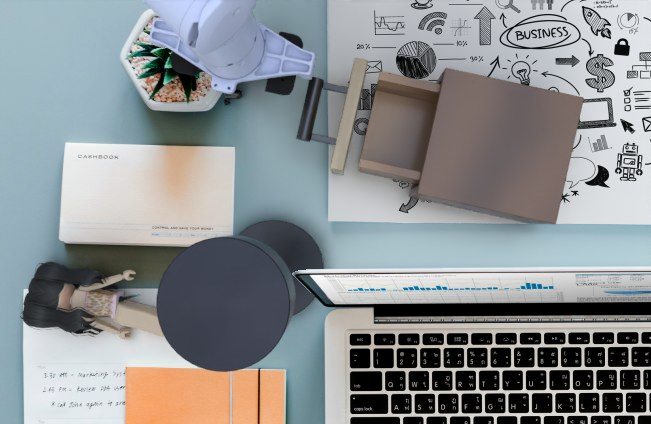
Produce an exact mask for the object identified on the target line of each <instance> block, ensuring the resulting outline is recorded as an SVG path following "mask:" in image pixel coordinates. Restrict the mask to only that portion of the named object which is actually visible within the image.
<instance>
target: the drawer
mask: <svg viewBox="0 0 651 424" xmlns="http://www.w3.org/2000/svg"><path fill="white" fill-rule="evenodd" d="M368 62H369V61H368V60H367V59H364V58H359V57H354V61H353V65H352V69H351V74H350V79H349V83H348V86H343V85H340V84H334V83H331V82H325V80H324V79H323V78H320V77H317V76H312V79H311V80H310V79H308V83H307V87H306V92H305V95H304V101H303V105H302V109H301V114H300V119H299V123H298V127H297V132H296V136H295V139H296V140H298V141H301V142H305V143H311V141H313V142H317V143H322V144H327V145H332V146H334V148H333V154H332V157H331V163H330V167H329V168H330V172H331V173H332V174H334V175H339V176H344V174H345V169H346V166H347V160H348V156H349V151H350V149H351V144H352V139H353V134H354V130H355V125H356V122H357V121H356V120H357V116H358V112H359V107H360V103H361V99H362V94H363V89H364V85H365V82H366V78H367V77H366V76H367V69H368ZM440 86H441V84H437V83H436V82H431V81H428V80H423V79H418V78H413V77H409V76H404V75H400V74H395V73H391V72H385V71H379V74H378V78H377V83H376V86H375V90H374V95H373V100H372V104H371V109H370V113H369V118H368V122H367V127H366V131H365V135H364V140H363V145H362V149H361V153H360V158H359V162H358V167H357V172H358V173H361V174H362V173H363V174H367V175H372V176H376V177H381V178H384V179H389V180H395V181H399V182H403V183H408V184H416V185H418V184H419V180H420V175H421V171H422V166H423V162H424V158H425V153H426V149H427V144H428V140H429V135H430V131H431V126H432V122H433V117H434V113H435V109H436V104H437V100H438V95H439V91H440ZM323 90H324V91H329V92H333V93H338V94H342V95H346V96H345V100H344V105H343V108H342V114H341V118H340V122H339V126H338V131H337V132H338V133H337V136H336V137H330V136H326V135H321V134H317V133H313V132H314V126H315V123H316V119H317V115H318V114H317V113H318V110H319V105H320V100H321V97H322V91H323Z"/></svg>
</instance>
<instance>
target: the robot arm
mask: <svg viewBox="0 0 651 424" xmlns="http://www.w3.org/2000/svg"><path fill="white" fill-rule="evenodd" d="M141 1H142V2H143V3H144V4H145V5H146V6H147V7H148V8H149V9H150V10H152V11H153V12H154V14H155V15H156V16H158V18H156V17H154V18H153V19H152V23H151V27H150V30H149V31H150V32H149V36H148V41H149V42H150V43H151V44H153V46H155V47H158V48H164V49H165V48H167V49H168V50H170V51H172V53H171V57H170V65H171V69H173V70H174V71H175V72H176V73H179V74H183V75H188V76H192V77H197V75H199V74H201V73H206V74H207V75H209V76H210V77H211V81H210V87H211V89H212V90H214V91H215V92H218V93H222V94H224V93H227V94H232V93H234V92H235V90H236V89H237V87H238V86H237V85H238V84H240V83H245V82H252V81H260V80H266V84H265V89H264V92H266V93H270V94H274V95H279V96H290V95H291V94H292V92H293V91H294V88H295V84H296V80H297V76H300V77H301V78H302V79H305V80H309V79H310V80H311V79H312V77H314V75H313V74H314V71H315V66H316V61H317V55H316V52H314V51H309V50H307V49H303V48H304V42H303V39H302V38H301V36H299V35H297V34H295V33H290V32H285V31H279V32H278V33H277V32H275V31H274V30H272V29H270V28H269V27H268V26H266V25H264V24H263V23H261V22H260V21H259V20H256V18H255V16H254V14H253V11H254V9H255V8H256V6H257V4H258V1H259V0H141ZM229 89H230V90H229Z"/></svg>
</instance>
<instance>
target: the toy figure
mask: <svg viewBox="0 0 651 424" xmlns="http://www.w3.org/2000/svg"><path fill="white" fill-rule="evenodd" d="M38 265H39V266H37V268H36V267H35V269H34V270H35V273H34V274H33V278H31V280H30V281H29V283H28V288H27V291H28V292H27V293H26V294H25V296H24V300H23V310H22V313H20V316H19V318H20V319H22V321H23V322H24V324H25V325H27V326H28V327H29V328H31V329H34V330H35V328H36V329H37V331H38V330H39V331H41V329H47V331H50V330H52V329H53V328H56V330H60V329H61V330H62V331H64V332H65V333H69V334H70V335H73V336H74V337H77V335H82V337H83V336H85V337H86V334H87V333H88V334H87V336H88V337H89V336H90V337H92V338H95V336H97V335H99V334H101V333H102V332H108V333H111V334H113V335H119V338H120V339H122V340H130V339H132V336H131V328H132V329H138V330H140V331H143V332H146V333H149V334H152V335H155V336H158V337H160V338H161V337H165V336H164V334H163V333H162V330H161V327H160V325H159V321H158V317H157V308H156V307H154V306H152V305H148V304H143V303H139V302H135V301H130V299H133V298H138V297H140V296H141V294H131V295H127V296H124V295H125V291H124V290H119V291H118V286H117V285H116V283H118V282H120V281H122V280H126V281H133V280H134V279H135V278H134V276H130V275H136V274H137V272H136V271H135V270H133V269H126V270H124V271H123V272H122V274H121V273H118V274H115V275H112V276H108V274H107V273H106V272H105V271H98V270H95V269H93V268H92V267H90V266H87V267H85V266H84V267H78V268H76V269H73V268H69V267H68V266H66V265H64V264H62V263H59V262H56V261H55V262H54V261H46V262H40V263H38ZM104 274H105V276H104ZM76 287H78V288H76ZM110 289H111V290H110ZM114 289H115V290H117V291H113V290H114ZM21 314H22V315H21ZM105 316H106V317H107V316H108V318H110V319H112V321H113V323H115V324H117V325H119V326H122V327H120V328H119V327H117V326H115V325H112V324H111V323H109V322H106V321H105V320H103V319H100V318H99V317H105ZM92 330H93V331H92ZM94 335H95V336H94Z"/></svg>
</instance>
